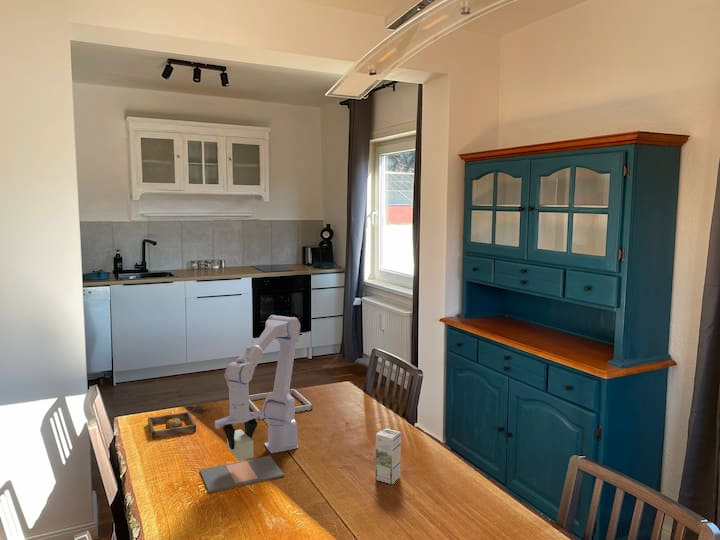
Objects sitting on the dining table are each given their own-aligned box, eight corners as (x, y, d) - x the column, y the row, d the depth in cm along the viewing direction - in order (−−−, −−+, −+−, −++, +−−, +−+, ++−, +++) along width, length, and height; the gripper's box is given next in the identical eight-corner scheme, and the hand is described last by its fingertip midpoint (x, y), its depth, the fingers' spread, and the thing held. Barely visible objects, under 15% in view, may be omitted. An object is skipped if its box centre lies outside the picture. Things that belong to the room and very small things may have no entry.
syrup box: (400, 477, 162) (401, 430, 160) (391, 486, 157) (392, 437, 155) (384, 472, 165) (384, 426, 163) (374, 481, 160) (375, 433, 158)
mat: (270, 457, 175) (270, 455, 175) (284, 476, 162) (284, 474, 162) (199, 471, 165) (199, 469, 165) (208, 492, 152) (208, 490, 152)
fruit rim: (189, 417, 207) (189, 411, 207) (196, 431, 194) (195, 425, 194) (148, 424, 201) (148, 417, 200) (152, 439, 188) (152, 432, 187)
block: (253, 457, 160) (253, 440, 160) (239, 460, 158) (239, 444, 157) (240, 444, 169) (240, 429, 168) (227, 447, 166) (226, 432, 166)
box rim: (294, 393, 236) (294, 388, 236) (312, 409, 217) (312, 404, 216) (244, 400, 226) (244, 395, 226) (259, 418, 207) (259, 413, 207)
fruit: (174, 436, 191) (173, 426, 190) (159, 430, 195) (158, 421, 195) (193, 428, 198) (192, 418, 197) (178, 423, 202) (178, 414, 202)
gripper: (256, 394, 169) (257, 436, 171) (210, 403, 161) (211, 447, 162) (266, 400, 163) (266, 444, 165) (218, 410, 155) (219, 455, 157)
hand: (239, 446), depth 163 cm, fingers closed on block, 4 cm apart
